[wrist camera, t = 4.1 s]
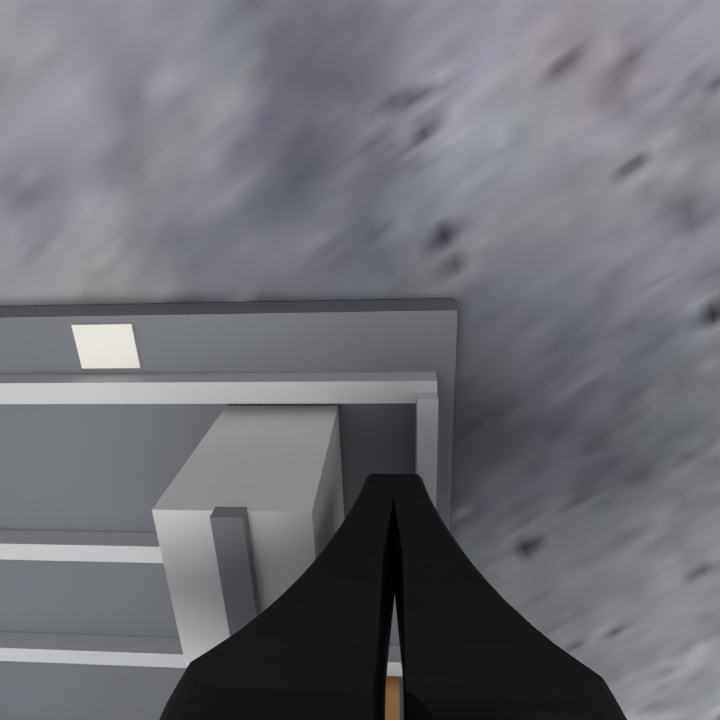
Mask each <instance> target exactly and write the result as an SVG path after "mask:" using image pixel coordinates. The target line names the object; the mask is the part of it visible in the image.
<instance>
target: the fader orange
mask: <svg viewBox="0 0 720 720" xmlns="http://www.w3.org/2000/svg"><path fill="white" fill-rule="evenodd" d="M385 720H400V693H399V676H387V678H386V702H385Z"/></svg>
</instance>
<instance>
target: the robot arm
mask: <svg viewBox="0 0 720 720" xmlns="http://www.w3.org/2000/svg"><path fill="white" fill-rule="evenodd" d="M394 597H395V602H396V613H397V623H398V633H399V644H400V654H401V665H402V678H403V708H404V720H627V719H626V717H625V715H624V714H623V712H622V710H621V708H620V706H619V705H618V703H617V701H616V699H615V698H614V696H613V694H612V693H611V691H610V689H609V687H608V686H607V684H606V682H605V681H604V679H603V678H602V677H601V676H599V675H598V674H596V673H595V672H593V671H592V670H591V669H589V668H588V667H586V666H585V665H584V664H582V663H581V662H579V661H578V660H576V659H575V658H574V657H572V656H571V655H569V654H568V653H566V652H565V651H564V650H562V649H561V648H559V647H558V646H557V645H555V644H554V643H553V642H552V641H550V640H549V639H548V638H547V637H545V636H544V635H543V634H542V633H541V632H539V631H538V630H537V629H536V628H534V627H533V626H532V625H531V624H530V623H529V622H528V621H527V620H526V619H525V618H523V617H522V616H521V615H520V614H519V613H518V612H517V611H516V610H515V609H514V608H513V607H512V606H511V605H509V604H508V603H507V602H506V601H505V600H504V599H503V598H502V597H501V596H500V595H499V593H498V592H497V591H496V590H495V589H494V588H493V587H492V586H491V585H490V584H489V583H488V582H487V580H486V579H485V578H484V577H483V576H482V575H481V573H480V572H479V571H478V570H477V569H476V568H475V566H474V565H473V564H472V563H471V561H470V560H469V559H468V557H467V556H466V555H465V553H464V552H463V551H462V549H461V548H460V546H459V545H458V544H457V542H456V541H455V539H454V538H453V536H452V535H451V533H450V532H449V530H448V529H447V527H446V525H445V524H444V522H443V520H442V519H441V517H440V516H439V514H438V512H437V510H436V508H435V507H434V505H433V503H432V501H431V499H430V497H429V495H428V492H427V490H426V488H425V485H424V482H423V479H422V478H421V477H420V476H419V475H418V474H370V475H369V476H368V477H366V480H365V483H364V485H363V487H362V490H361V492H360V494H359V496H358V498H357V499H356V501H355V503H354V505H353V507H352V508H351V510H350V512H349V513H348V515H347V516H346V518H345V520H344V521H343V523H342V524H341V526H340V527H339V529H338V530H337V532H336V533H335V534H334V536H333V537H332V539H331V540H330V541H329V543H328V544H327V545H326V547H325V548H324V549H323V551H322V552H321V553H320V554H319V556H318V557H317V558H316V559H315V561H314V562H313V563H312V564H311V565H310V566H309V567H308V569H307V570H306V571H305V572H304V573H303V574H302V575H301V576H300V577H299V578H298V579H297V580H296V581H295V582H294V583H293V584H292V585H291V586H290V587H289V588H288V589H287V590H286V591H285V592H284V593H283V594H282V595H281V596H280V597H279V598H278V599H277V600H276V601H275V602H273V603H272V604H271V605H270V606H269V607H268V608H266V609H265V610H264V611H263V612H262V613H260V614H259V615H258V616H257V617H255V618H254V619H253V620H252V621H250V622H249V623H248V624H247V625H245V626H244V627H243V628H242V629H240V630H239V631H238V632H236V633H235V634H233V635H232V636H230V637H229V638H227V639H226V640H224V641H223V642H221V643H220V644H218V645H217V646H215V647H214V648H212V649H210V650H209V651H207V652H206V653H204V654H203V655H201V656H200V657H198V658H196V659H195V660H193V661H191V662H190V664H189V665H188V667H187V669H186V670H185V672H184V674H183V675H182V677H181V679H180V681H179V682H178V684H177V686H176V688H175V689H174V691H173V693H172V695H171V696H170V698H169V700H168V702H167V704H166V706H165V708H164V710H163V712H162V714H161V716H160V719H159V720H385V702H386V678H387V665H388V656H389V646H390V636H391V626H392V616H393V607H394Z"/></svg>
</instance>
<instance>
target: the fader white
mask: <svg viewBox="0 0 720 720" xmlns="http://www.w3.org/2000/svg"><path fill="white" fill-rule="evenodd" d="M152 513H153V518H154V522H155V527H156V532H157V536H158V541H159V545H160V550H161V555H162V559H163V564H164V568H165V573H166V578H167V582H168V587H169V591H170V596H171V601H172V605H173V610H174V615H175V619H176V624H177V628H178V633H179V638H180V642H181V647H182V651H183V656H184V661H185V665H187V666H188V665H189V664H190V662H191V661H193V660H195V659H196V658H198V657H200V656H201V655H203V654H204V653H206V652H207V651H209V650H210V649H212V648H214V647H215V646H217V645H218V644H220V643H221V642H223V641H224V640H226V639H227V638H229V637H230V636H232V635H233V634H235V633H236V632H238V631H239V630H240V629H242V628H243V627H244V626H245V625H247V624H248V623H249V622H250V621H252V620H253V619H254V618H255V617H257V616H258V615H259V614H260V613H262V612H263V611H264V610H265V609H266V608H268V607H269V606H270V605H271V604H272V603H273V602H275V601H276V600H277V599H278V598H279V597H280V596H281V595H282V594H283V593H284V592H285V591H286V590H287V589H288V588H289V587H290V586H291V585H292V584H293V583H294V582H295V581H296V580H297V579H298V578H299V577H300V576H301V575H302V574H303V573H304V572H305V571H306V570H307V569H308V567H309V566H310V565H311V564H312V563H313V562H314V561H315V559H316V558H317V557H318V556H319V554H320V553H321V552H322V551H323V549H324V548H325V547H326V545H327V544H328V543H329V541H330V540H331V539H332V537H333V536H334V534H335V533H336V532H337V530H338V529H339V527H340V526H341V524H342V523H343V521H344V520H345V519H344V501H343V483H342V465H341V447H340V429H339V411H338V406H226V407H225V409H224V410H223V411H222V413H221V414H220V415H219V417H218V418H217V420H216V421H215V422H214V424H213V425H212V427H211V428H210V429H209V431H208V432H207V434H206V435H205V436H204V438H203V439H202V441H201V442H200V443H199V445H198V446H197V447H196V449H195V450H194V452H193V453H192V454H191V456H190V457H189V459H188V460H187V461H186V463H185V464H184V466H183V467H182V468H181V470H180V471H179V473H178V474H177V475H176V477H175V478H174V479H173V481H172V482H171V484H170V485H169V486H168V488H167V489H166V491H165V492H164V493H163V495H162V496H161V498H160V499H159V500H158V502H157V503H156V505H155V506H154V507H153V509H152Z"/></svg>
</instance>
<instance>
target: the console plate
mask: <svg viewBox="0 0 720 720" xmlns="http://www.w3.org/2000/svg"><path fill="white" fill-rule="evenodd" d="M457 313H458V310H457V308H456V305H455V303H454V301H453V298H447V299H390V300H334V301H277V302H221V303H164V304H108V305H51V306H0V720H159V719H160V716H161V714H162V712H163V710H164V708H165V706H166V704H167V702H168V700H169V698H170V696H171V695H172V693H173V691H174V689H175V688H176V686H177V684H178V682H179V681H180V679H181V677H182V675H183V674H184V672H185V670H186V669H187V667H188V666H187V665H185V661H184V656H183V651H182V647H181V642H180V638H179V633H178V628H177V624H176V619H175V615H174V610H173V605H172V601H171V596H170V591H169V587H168V582H167V578H166V573H165V568H164V564H163V559H162V555H161V550H160V545H159V541H158V536H157V532H156V527H155V522H154V518H153V513H152V509H153V507H154V506H155V505H156V503H157V502H158V500H159V499H160V498H161V496H162V495H163V493H164V492H165V491H166V489H167V488H168V486H169V485H170V484H171V482H172V481H173V479H174V478H175V477H176V475H177V474H178V473H179V471H180V470H181V468H182V467H183V466H184V464H185V463H186V461H187V460H188V459H189V457H190V456H191V454H192V453H193V452H194V450H195V449H196V447H197V446H198V445H199V443H200V442H201V441H202V439H203V438H204V436H205V435H206V434H207V432H208V431H209V429H210V428H211V427H212V425H213V424H214V422H215V421H216V420H217V418H218V417H219V415H220V414H221V413H222V411H223V410H224V409H225V407H226V406H338V411H339V429H340V447H341V465H342V483H343V501H344V519H345V518H346V516H347V515H348V513H349V512H350V510H351V508H352V507H353V505H354V503H355V501H356V499H357V498H358V496H359V494H360V492H361V490H362V487H363V485H364V483H365V480H366V477H368V476H369V475H370V474H418V475H419V476H420V477H421V478H422V479H423V482H424V485H425V488H426V490H427V492H428V495H429V497H430V499H431V501H432V503H433V505H434V507H435V508H436V510H437V512H438V514H439V516H440V517H441V519H442V520H443V522H444V524H445V525H446V527H447V529H448V530H449V532H450V518H451V489H452V459H453V430H454V401H455V371H456V342H457ZM387 676H399V693H400V720H404V708H403V678H402V665H401V654H400V644H399V633H398V623H397V613H396V602H395V597H394V607H393V616H392V626H391V636H390V646H389V656H388V665H387Z"/></svg>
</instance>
